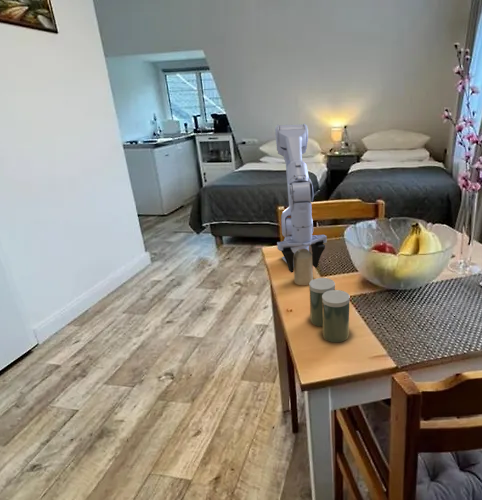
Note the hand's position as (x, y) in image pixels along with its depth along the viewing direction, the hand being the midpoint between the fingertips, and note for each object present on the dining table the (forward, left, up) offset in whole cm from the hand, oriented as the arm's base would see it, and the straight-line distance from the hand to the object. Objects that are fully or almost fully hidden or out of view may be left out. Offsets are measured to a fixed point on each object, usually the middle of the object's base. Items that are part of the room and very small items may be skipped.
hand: (303, 268), depth 113 cm
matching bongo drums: (+25, -4, -4) cm, 26 cm away
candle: (0, 0, -4) cm, 4 cm away
